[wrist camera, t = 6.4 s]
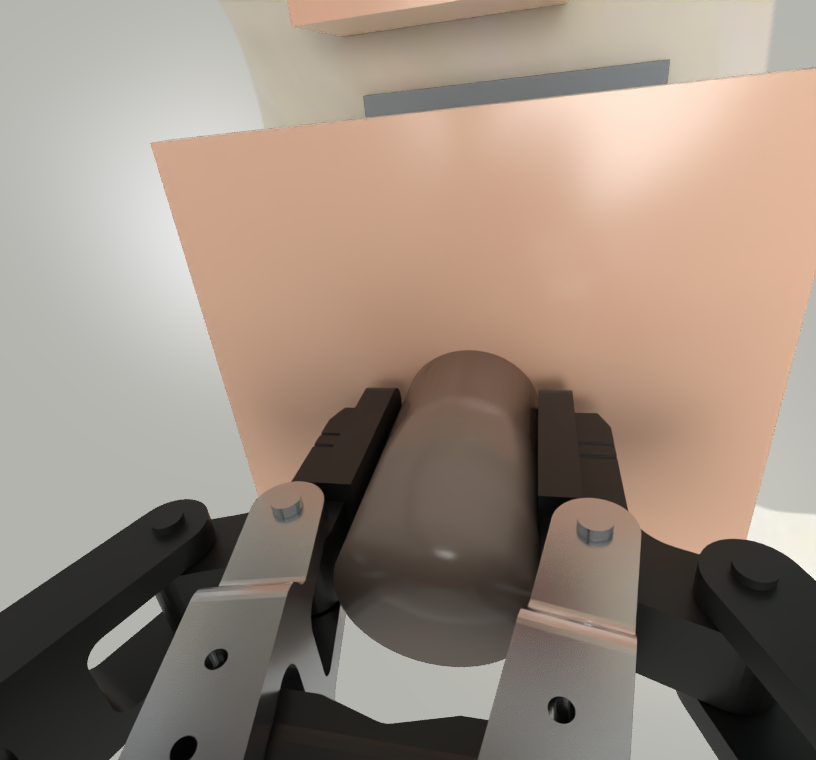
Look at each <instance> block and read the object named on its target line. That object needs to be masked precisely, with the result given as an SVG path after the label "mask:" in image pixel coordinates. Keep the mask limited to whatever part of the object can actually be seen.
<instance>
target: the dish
mask: <svg viewBox="0 0 816 760" xmlns="http://www.w3.org/2000/svg"><path fill="white" fill-rule="evenodd" d="M287 2H288V8H289V14H290V19H291V25H292V27H296V28H301V29H306V30H311V31H316V32H321V33H326V34H331V35H336V36H341V37H342V36H349V35H356V34H362V33H369V32H376V31H383V30H390V29H396V28H403V27H410V26H417V25H424V24H430V23H437V22H444V21H451V20H458V19H464V18H471V17H478V16H485V15H492V14H498V13H505V12H512V11H519V10H526V9H532V8H539V7H546V6H553V5H560V4H566V3H567V2H568V0H287Z"/></svg>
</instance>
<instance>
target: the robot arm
mask: <svg viewBox="0 0 816 760" xmlns="http://www.w3.org/2000/svg"><path fill="white" fill-rule="evenodd" d="M401 406H402V399H401V394H400V391H399V389H398V388H366V389H365V391H364V392H363V394H362V396H361V398H360V400H359V401H358V403H357V405H356V407H355V408H344V409H342V410H341V411H340V412H338V413H337V414H336V415H334V416H333V417H332V418H330V419H329V421H328V423H327V424H326V426H325V427H324V429H323V431H322V432H321V435H320V436H319V437H318V439H317V440H316V442H315V444H314V447H312V449H311V450H310V452H309V453H308V455H307V457H306V458H305V460H304V462H303V463H302V465H301V466H300V468H299V470H298V471H297V473H296V475H295V476H294V478H293V479H292V481H291V482H288V483H283V484H280V485H277V486H275V487H273V488H271V489H269V490H267V491H266V492H264V493H263V494H262V495H260V496H259V497H258V498H257V499H256V501H255V502H254V503H253V505H252V507H251V509H250V512H249V513H245V514H240V515H235V516H228V517H223V518H217V519H211V518H210V516H209V513H208V510H207V507H206V506H205V505H204V504H203V503H201V502H199V501H196V500H190V499H184V500H177V501H173V502H169V503H166V504H164V505H161V506H159V507H157V508H155V509H153V510H152V511H150V512H148V513H147V514H146V515H144V516H142V517H141V518H140V519H138V520H136V521H135V522H134V523H132V524H131V525H129V526H128V527H126V528H125V529H123V530H122V531H120V532H119V533H117V534H116V535H114V536H113V537H111V538H110V539H108V540H107V541H105V542H104V543H103V544H101V545H99V546H98V547H96V548H95V549H93V550H92V551H91V552H89V553H88V554H86V555H85V556H83V557H82V558H80V559H79V560H77V561H76V562H74V563H73V564H71V565H70V566H68V567H67V568H65V569H64V570H62V571H61V572H59V573H58V574H56V575H55V576H53V577H52V578H51V579H49V580H48V581H46V582H45V583H43V584H42V585H40V586H39V587H37V588H36V589H34V590H33V591H31V592H30V593H28V594H27V595H26V596H24V597H22V598H21V599H19V600H18V601H17V602H15V603H13V604H12V605H11V606H9V607H8V608H6V609H5V610H3V611H2V612H0V760H109V759H110V758H111V757H112V756H113V755H114V754H115V753H117V751H119V750H120V749H121V748H122V747H123V746H124V745H125V746H124V748H123V750H122V752H121V755H120V757H119V759H118V760H630V755H631V738H632V721H633V705H634V688H635V673H638V674H640V675H642V676H645V677H647V678H650V679H652V680H654V681H657V682H659V683H661V684H663V685H666V686H668V687H671V688H673V689H675V690H676V691H677V694H678V696H679V698H680V700H681V702H682V703H683V705H684V707H685V708H686V710H687V711H688V713H689V714H690V716H691V717H692V719H693V720H694V722H695V723H696V725H697V727H698V728H699V730H700V731H701V733H702V734H703V736H704V737H705V739H706V741H707V742H708V744H709V745H710V747H711V748H712V750H713V751H714V753H715V754H716V756H717V757H718V759H719V760H816V581H815V580H814V579H813V578H812V577H811V576H810V575H809V574H808V573H806V572H805V571H804V570H803V569H802V568H801V567H800V566H799V565H798V564H797V563H795V562H794V561H793V560H792V559H790V558H789V557H787V556H786V555H784V554H783V553H781V552H779V551H777V550H775V549H773V548H771V547H769V546H766V545H764V544H761V543H757V542H754V541H749V540H744V539H723V540H718V541H715V542H712V543H711V544H709V545H707V546H706V547H705V548H704V549H703V550H702V552H701V553H700V554H697V553H693V552H690V551H687V550H683V549H680V548H677V547H674V546H671V545H668V544H665V543H663V542H661V541H659V540H657V539H655V538H653V537H651V536H650V535H648V534H647V533H646V532H644V531H643V530H642V529H641V528H640V526H639V523H638V522H637V520H636V519H635V517H634V516H633V515H632V514H631V513H630V512H629V511H628V508H627V503H626V498H625V493H624V488H623V483H622V478H621V474H620V469H619V464H618V459H617V454H616V449H615V446H614V440H613V435H612V430H611V427H610V426H609V425H608V423H607V422H606V421H605V420H604V419H603V418H602V417H601V416H600V415H599V414H598V413H575V411H574V401H573V392H572V390H538V532H539V536H540V545H541V560H540V564H539V568H538V572H537V575H536V579H535V583H534V587H533V591H532V594H531V598H530V602H529V605H528V606H524V605H523V606H522V607H521V609H520V611H519V614H518V617H517V620H516V624H515V627H514V631H513V634H512V638H511V642H510V645H509V649H508V652H507V656H506V660H505V664H504V667H503V670H502V674H501V678H500V682H499V685H498V689H497V692H496V696H495V699H494V703H493V707H492V710H491V714H490V718H489V720H484V719H477V718H471V717H464V716H455V717H447V718H438V719H429V720H420V721H412V722H402V723H394V724H384V723H380V722H377V721H375V720H373V719H371V718H369V717H367V716H365V715H363V714H361V713H359V712H357V711H354V710H353V709H351V708H348V707H346V706H344V705H342V704H340V703H338V702H336V701H335V689H336V681H337V674H338V667H339V660H340V653H341V646H342V639H343V632H344V625H345V618H346V612H345V611H344V609H343V608H342V606H341V604H340V602H339V600H338V598H337V595H336V592H335V587H334V581H333V577H334V568H335V563H336V561H337V558H338V556H339V553H340V551H341V549H342V546H343V544H344V542H345V539H346V537H347V534H348V532H349V530H350V527H351V525H352V523H353V520H354V518H355V515H356V513H357V511H358V508H359V506H360V504H361V501H362V499H363V496H364V494H365V492H366V489H367V487H368V485H369V482H370V480H371V477H372V475H373V473H374V470H375V468H376V466H377V463H378V461H379V458H380V456H381V454H382V451H383V449H384V447H385V444H386V442H387V439H388V437H389V435H390V432H391V430H392V428H393V425H394V423H395V420H396V418H397V416H398V413H399V411H400V409H401ZM154 596H156V598H157V600H158V602H159V604H160V606H161V609H162V611H163V612H161V613H160V614H159V615H158V616H157V617H155V618H154V619H153V620H152V621H151V622H149V623H148V624H147V625H146V626H145V627H143V628H142V629H141V630H140V631H139V632H138V633H136V634H135V635H134V636H133V637H131V638H130V639H129V640H128V641H127V642H125V643H124V644H123V645H122V646H121V647H119V648H118V649H117V650H116V651H115V652H113V653H112V654H111V655H110V656H109V657H107V658H106V659H105V660H104V661H103V662H101V663H100V664H99V665H98V666H96V667H95V668H93V669H91V670H88V667H87V660H88V657H89V654H90V652H91V650H92V649H93V647H94V645H95V644H96V643H97V642H98V641H99V640H100V639H101V638H102V637H104V636H105V635H106V634H107V633H109V632H110V631H111V630H112V629H114V628H115V627H116V626H117V625H119V624H120V623H121V622H122V621H124V620H125V619H126V618H127V617H129V616H130V615H131V614H132V613H134V612H135V611H136V610H137V609H139V608H140V607H141V606H142V605H144V604H145V603H146V602H147V601H148V600H150V599H151V598H152V597H154Z"/></svg>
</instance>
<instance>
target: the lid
mask: <svg viewBox="0 0 816 760" xmlns="http://www.w3.org/2000/svg"><path fill="white" fill-rule="evenodd" d="M151 147H152V150H153V153H154V157H155V160H156V163H157V166H158V170H159V173H160V176H161V180H162V183H163V186H164V189H165V192H166V196H167V199H168V202H169V205H170V209H171V212H172V216H173V219H174V222H175V225H176V229H177V232H178V235H179V238H180V241H181V245H182V248H183V251H184V255H185V258H186V261H187V264H188V268H189V271H190V274H191V277H192V281H193V284H194V287H195V291H196V294H197V297H198V300H199V304H200V307H201V310H202V313H203V316H204V320H205V323H206V326H207V330H208V333H209V336H210V340H211V343H212V346H213V349H214V353H215V356H216V359H217V362H218V366H219V369H220V372H221V375H222V379H223V382H224V385H225V389H226V392H227V395H228V398H229V401H230V405H231V408H232V411H233V415H234V418H235V421H236V425H237V427H238V431H239V434H240V438H241V441H242V444H243V447H244V451H245V454H246V457H247V460H248V464H249V467H250V470H251V473H252V477H253V480H254V483H255V487H256V490H257V493H258V496H260V495H262V494H263V493H264V492H266V491H267V490H269V489H271V488H273V487H275V486H277V485H280V484H283V483H288V482H291V481H292V479H293V478H294V476H295V475H296V473H297V471H298V470H299V468H300V466H301V465H302V463H303V462H304V460H305V458H306V457H307V455H308V453H309V452H310V450H311V449H312V447H314V444H315V442H316V440H317V439H318V437H319V436H320V435H321V432H322V431H323V429H324V427H325V426H326V424H327V423H328V421H329V419H330V418H332V417H333V416H334V415H336V414H337V413H338V412H340V411H341V410H342V409H344V408H355V407H356V405H357V403H358V401H359V400H360V398H361V396H362V394H363V392H364V391H365V389H366V388H398V389H399V391H400V394H401V399H402V406H401V409H400V411H399V413H398V416H397V418H396V420H395V423H394V425H393V428H392V430H391V432H390V435H389V437H388V439H387V442H386V444H385V447H384V449H383V451H382V454H381V456H380V458H379V461H378V463H377V466H376V468H375V470H374V473H373V475H372V477H371V480H370V482H369V485H368V487H367V489H366V492H365V494H364V496H363V499H362V501H361V504H360V506H359V508H358V511H357V513H356V515H355V518H354V520H353V523H352V525H351V527H350V530H349V532H348V534H347V537H346V539H345V542H344V544H343V546H342V549H341V551H340V553H339V556H338V558H337V561H336V563H335V568H334V577H333V581H334V587H335V592H336V595H337V598H338V600H339V602H340V604H341V606H342V608H343V609H344V611H345V612H346V614H347V615H348V616H349V618H350V619H351V620H352V621H353V622H354V624H355V625H356V626H357V627H359V628H360V629H361V630H362V631H363V632H364V633H365V634H367V635H368V636H369V637H370V638H372V639H373V640H375V641H376V642H378V643H379V644H381V645H382V646H384V647H386V648H388V649H390V650H392V651H394V652H396V653H398V654H401V655H403V656H406V657H409V658H411V659H414V660H417V661H421V662H425V663H429V664H435V665H441V666H451V667H471V666H480V665H486V664H490V663H494V662H497V661H500V660H503V659H505V658H506V656H507V652H508V649H509V645H510V642H511V638H512V634H513V631H514V627H515V624H516V620H517V617H518V614H519V611H520V609H521V607H522V606H523V605H524V606H528V605H529V602H530V598H531V594H532V591H533V587H534V583H535V579H536V575H537V572H538V568H539V564H540V560H541V545H540V536H539V532H538V390H572V392H573V401H574V411H575V413H598V414H599V415H600V416H601V417H602V418H603V419H604V420H605V421H606V422H607V423H608V425H609V426H610V427H611V430H612V435H613V440H614V446H615V449H616V454H617V459H618V464H619V469H620V474H621V478H622V483H623V488H624V493H625V498H626V503H627V508H628V511H629V512H630V513H631V514H632V515H633V516H634V517H635V519H636V520H637V522H638V523H639V526H640V528H641V529H642V530H643V531H644V532H646V533H647V534H648V535H650V536H651V537H653V538H655V539H657V540H659V541H661V542H663V543H665V544H668V545H671V546H674V547H677V548H680V549H683V550H687V551H690V552H693V553H697V554H700V553H701V552H702V550H703V549H704V548H705V547H706V546H707V545H709V544H711V543H712V542H715V541H718V540H723V539H744V540H746V539H747V535H748V531H749V527H750V523H751V519H752V516H753V512H754V508H755V504H756V500H757V496H758V493H759V488H760V485H761V481H762V477H763V473H764V469H765V466H766V462H767V458H768V454H769V450H770V446H771V442H772V438H773V435H774V431H775V427H776V423H777V419H778V415H779V411H780V407H781V404H782V400H783V396H784V392H785V389H786V385H787V381H788V377H789V373H790V369H791V366H792V362H793V358H794V354H795V350H796V346H797V342H798V339H799V334H800V331H801V327H802V323H803V319H804V316H805V312H806V308H807V304H808V300H809V296H810V292H811V288H812V285H813V281H814V277H815V273H816V67H812V68H803V69H795V70H786V71H777V72H768V73H759V74H750V75H741V76H732V77H723V78H715V79H706V80H697V81H688V82H679V83H670V84H661V85H652V86H643V87H634V88H626V89H617V90H608V91H599V92H590V93H581V94H572V95H563V96H554V97H546V98H537V99H528V100H519V101H510V102H501V103H492V104H483V105H474V106H465V107H457V108H448V109H439V110H430V111H421V112H412V113H403V114H394V115H385V116H377V117H368V118H359V119H350V120H341V121H332V122H323V123H314V124H305V125H296V126H288V127H279V128H270V129H261V130H252V131H243V132H234V133H226V134H217V135H208V136H199V137H190V138H181V139H172V140H166V141H160V142H154V143H151Z"/></svg>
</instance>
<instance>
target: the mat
mask: <svg viewBox="0 0 816 760" xmlns="http://www.w3.org/2000/svg"><path fill="white" fill-rule="evenodd" d="M669 64H670V60H662V61H653V62H645V63H636V64H628V65H620V66H611V67H603V68H594V69H586V70H578V71H569V72H561V73H552V74H544V75H535V76H527V77H519V78H510V79H502V80H493V81H485V82H476V83H468V84H460V85H451V86H443V87H434V88H426V89H418V90H409V91H401V92H392V93H384V94H375V95H367V96H363V98H364V106H365V114H366V118H368V117H377V116H385V115H394V114H403V113H412V112H421V111H430V110H439V109H448V108H457V107H465V106H474V105H483V104H492V103H501V102H510V101H519V100H528V99H537V98H546V97H554V96H563V95H572V94H581V93H590V92H599V91H608V90H617V89H626V88H634V87H643V86H652V85H661V84H667V82H668V73H669Z"/></svg>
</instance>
